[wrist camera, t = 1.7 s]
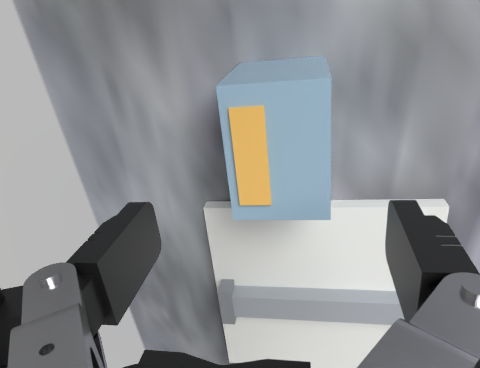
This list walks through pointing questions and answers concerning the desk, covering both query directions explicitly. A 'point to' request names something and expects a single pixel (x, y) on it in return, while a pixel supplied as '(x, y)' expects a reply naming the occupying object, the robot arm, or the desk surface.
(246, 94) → the block
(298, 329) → the rail plate
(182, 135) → the desk surface
